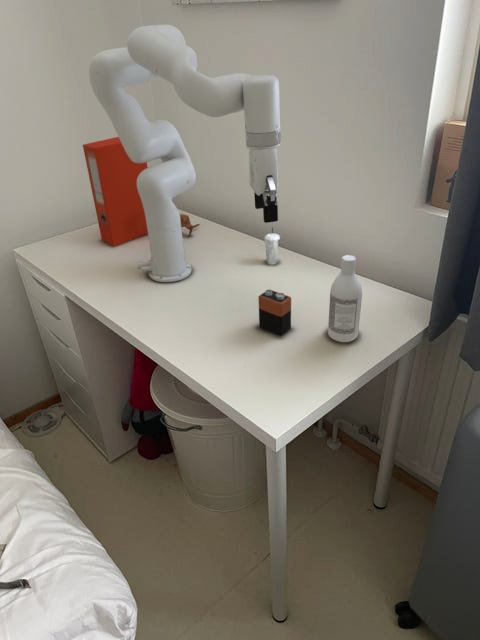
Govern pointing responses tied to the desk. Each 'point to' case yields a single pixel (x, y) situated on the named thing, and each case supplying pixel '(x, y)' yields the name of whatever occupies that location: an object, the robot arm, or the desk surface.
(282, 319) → the battery
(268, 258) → the milkshake
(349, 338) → the bath foam
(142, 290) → the desk surface
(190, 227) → the cat figurine
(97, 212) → the file binder
